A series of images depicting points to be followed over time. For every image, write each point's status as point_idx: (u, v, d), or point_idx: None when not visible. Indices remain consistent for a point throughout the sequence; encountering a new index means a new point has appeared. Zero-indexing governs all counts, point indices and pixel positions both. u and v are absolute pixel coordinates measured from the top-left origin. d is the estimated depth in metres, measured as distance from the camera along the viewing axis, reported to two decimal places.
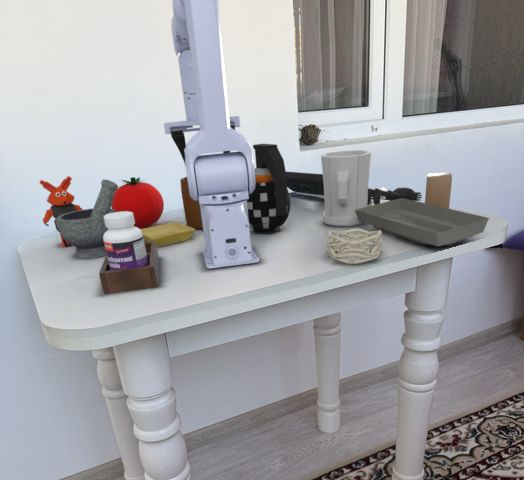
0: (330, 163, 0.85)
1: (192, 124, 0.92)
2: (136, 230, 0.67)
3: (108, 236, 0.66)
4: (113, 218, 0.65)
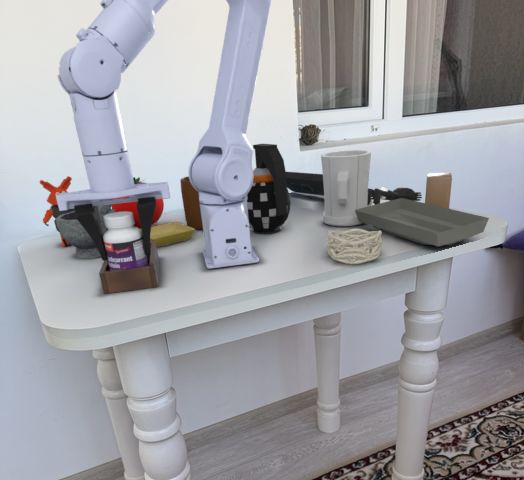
0: (330, 163, 0.85)
1: (97, 198, 0.63)
2: (136, 230, 0.67)
3: (108, 236, 0.66)
4: (113, 218, 0.65)
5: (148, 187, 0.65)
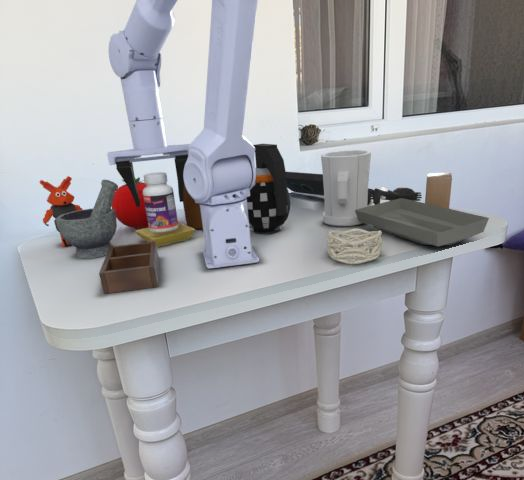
0: (330, 163, 0.85)
1: (139, 154, 0.82)
2: (168, 186, 0.86)
3: (147, 190, 0.85)
4: (151, 176, 0.84)
5: (178, 146, 0.83)
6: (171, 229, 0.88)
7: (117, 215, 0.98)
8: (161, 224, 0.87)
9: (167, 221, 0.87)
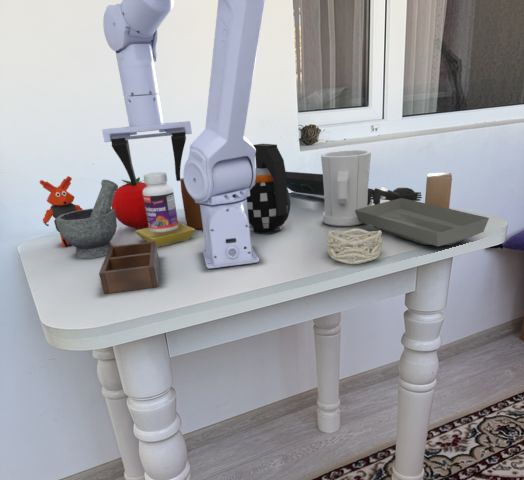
0: (330, 163, 0.85)
1: (134, 131, 0.80)
2: (168, 186, 0.86)
3: (147, 190, 0.85)
4: (151, 176, 0.84)
5: (175, 123, 0.81)
6: (171, 229, 0.88)
7: (117, 215, 0.98)
8: (161, 224, 0.87)
9: (167, 221, 0.87)
